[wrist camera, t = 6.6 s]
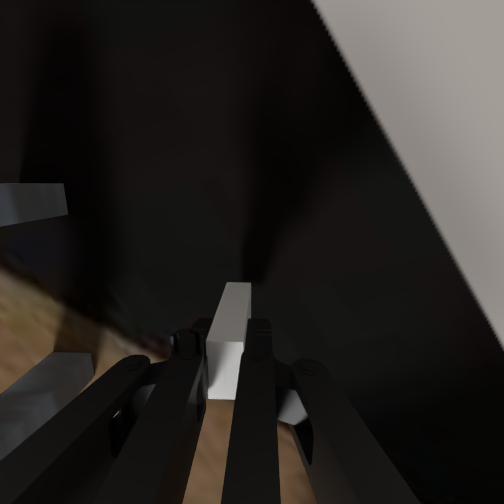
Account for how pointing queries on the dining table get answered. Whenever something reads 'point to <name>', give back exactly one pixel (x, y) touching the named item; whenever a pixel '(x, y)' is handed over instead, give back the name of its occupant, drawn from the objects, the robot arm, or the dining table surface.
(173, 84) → the dining table surface
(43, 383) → the bridge
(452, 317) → the dining table surface
